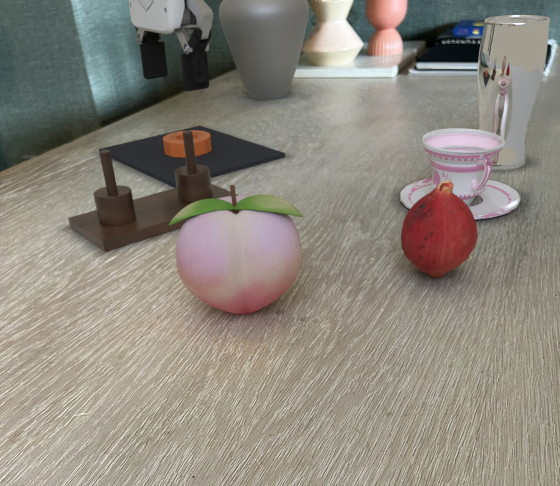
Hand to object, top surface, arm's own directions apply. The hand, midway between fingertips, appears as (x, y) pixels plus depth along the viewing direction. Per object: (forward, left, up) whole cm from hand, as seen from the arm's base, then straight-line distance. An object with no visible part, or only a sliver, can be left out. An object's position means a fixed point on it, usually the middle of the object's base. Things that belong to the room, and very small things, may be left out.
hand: (175, 83), depth 82 cm
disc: (0, 0, -8) cm, 8 cm away
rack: (+17, -14, -9) cm, 24 cm away
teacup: (+35, +12, -9) cm, 38 cm away
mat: (0, 0, -9) cm, 9 cm away
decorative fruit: (+39, -19, -9) cm, 44 cm away
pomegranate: (+45, -4, -9) cm, 46 cm away
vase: (-20, +29, -9) cm, 36 cm away
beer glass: (+30, +24, -9) cm, 40 cm away
